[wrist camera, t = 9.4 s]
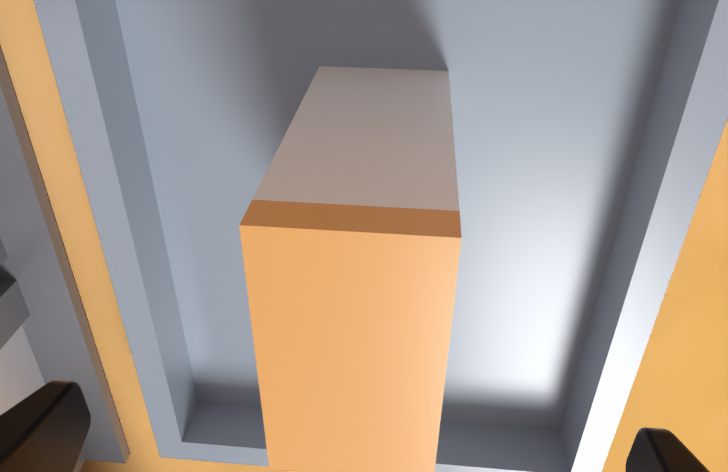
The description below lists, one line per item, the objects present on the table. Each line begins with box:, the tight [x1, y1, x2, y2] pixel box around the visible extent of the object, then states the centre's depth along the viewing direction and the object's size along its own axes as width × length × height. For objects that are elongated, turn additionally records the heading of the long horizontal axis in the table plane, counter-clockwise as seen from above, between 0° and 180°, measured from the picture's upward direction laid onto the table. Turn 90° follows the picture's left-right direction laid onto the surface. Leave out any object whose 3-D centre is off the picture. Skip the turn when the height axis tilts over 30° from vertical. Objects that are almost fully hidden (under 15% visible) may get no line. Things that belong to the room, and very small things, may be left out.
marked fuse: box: [239, 66, 462, 472], centre depth 14 cm, size 6×3×8 cm, turn 0°
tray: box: [34, 0, 728, 472], centre depth 17 cm, size 23×16×2 cm
